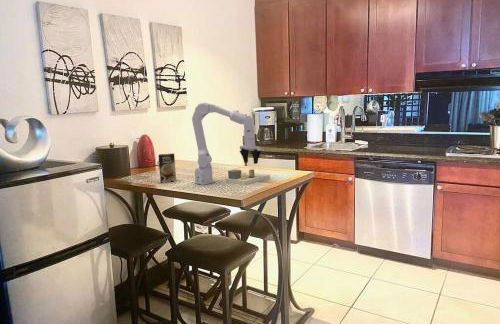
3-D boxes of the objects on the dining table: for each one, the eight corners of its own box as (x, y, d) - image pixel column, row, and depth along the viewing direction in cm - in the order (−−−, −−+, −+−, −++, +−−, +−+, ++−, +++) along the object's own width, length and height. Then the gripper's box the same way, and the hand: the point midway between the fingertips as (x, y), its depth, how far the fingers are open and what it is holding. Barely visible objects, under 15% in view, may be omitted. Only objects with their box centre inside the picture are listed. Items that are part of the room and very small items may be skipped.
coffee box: (160, 183, 216) (157, 155, 213) (160, 181, 222) (158, 154, 220) (176, 181, 218) (174, 154, 215) (176, 179, 224) (174, 152, 221)
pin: (251, 181, 207) (250, 170, 206) (248, 180, 209) (247, 170, 208) (255, 180, 208) (255, 169, 207) (252, 179, 211) (252, 169, 210)
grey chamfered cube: (234, 179, 205) (234, 171, 204) (228, 178, 209) (227, 170, 208) (241, 177, 208) (241, 170, 208) (235, 176, 212) (234, 169, 211)
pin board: (244, 185, 198) (243, 175, 198) (225, 181, 209) (225, 173, 208) (270, 178, 212) (269, 169, 211) (251, 175, 223) (250, 167, 222)
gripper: (264, 138, 202) (265, 162, 205) (245, 137, 213) (247, 161, 215) (255, 139, 198) (256, 164, 200) (236, 138, 208) (237, 162, 210)
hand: (250, 163), depth 207 cm, fingers open, 7 cm apart
